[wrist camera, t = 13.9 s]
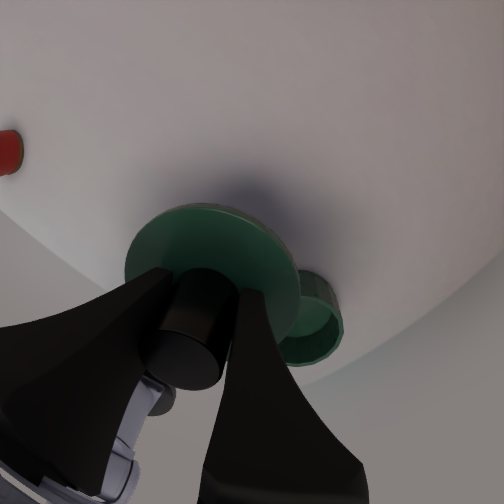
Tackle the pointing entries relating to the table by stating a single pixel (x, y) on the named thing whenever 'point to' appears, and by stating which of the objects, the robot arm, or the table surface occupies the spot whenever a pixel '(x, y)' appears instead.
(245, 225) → the lid
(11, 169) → the can
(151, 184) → the table surface
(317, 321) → the green pot
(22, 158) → the coaster
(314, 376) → the table surface
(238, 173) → the table surface
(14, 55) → the table surface
